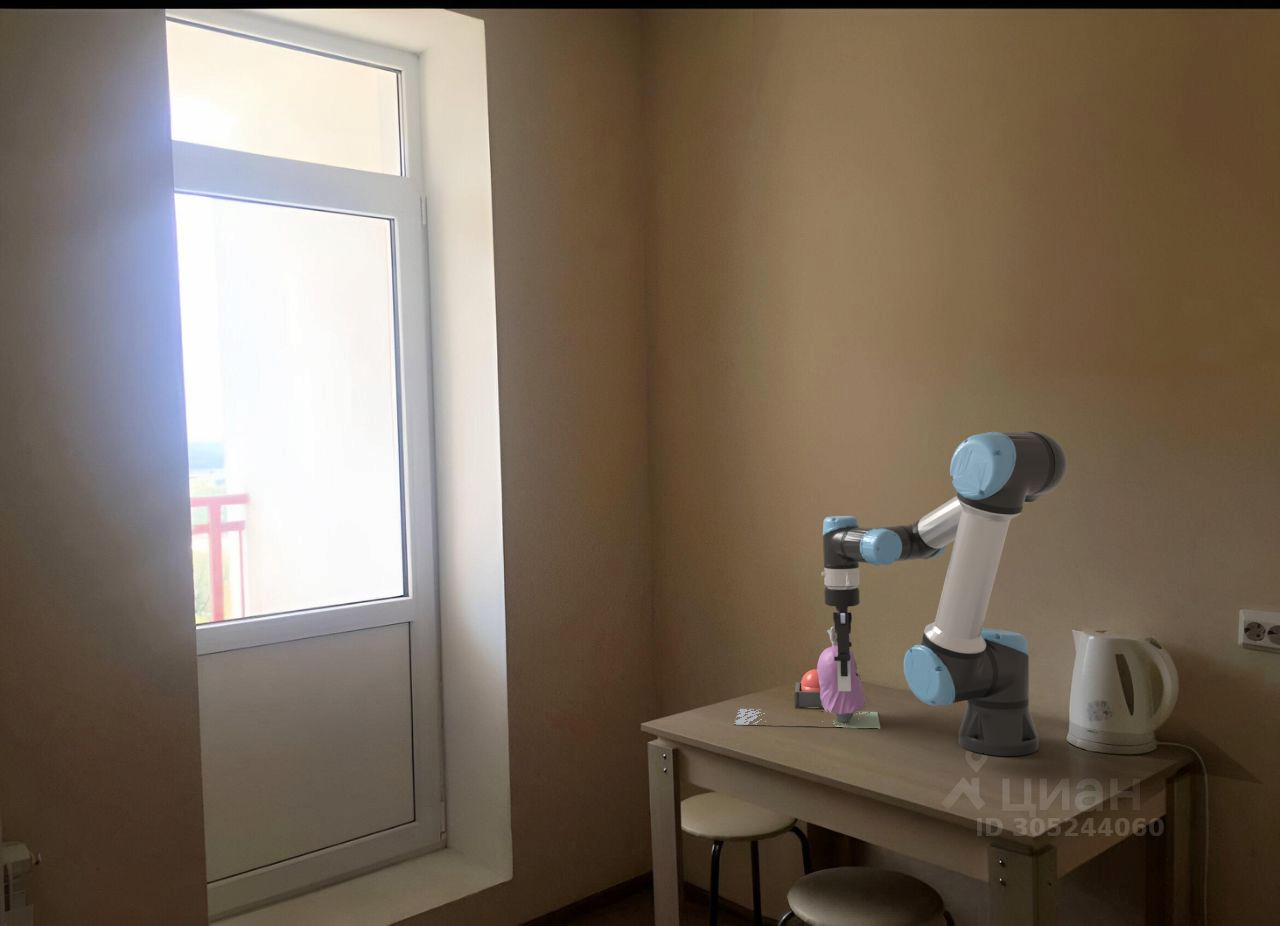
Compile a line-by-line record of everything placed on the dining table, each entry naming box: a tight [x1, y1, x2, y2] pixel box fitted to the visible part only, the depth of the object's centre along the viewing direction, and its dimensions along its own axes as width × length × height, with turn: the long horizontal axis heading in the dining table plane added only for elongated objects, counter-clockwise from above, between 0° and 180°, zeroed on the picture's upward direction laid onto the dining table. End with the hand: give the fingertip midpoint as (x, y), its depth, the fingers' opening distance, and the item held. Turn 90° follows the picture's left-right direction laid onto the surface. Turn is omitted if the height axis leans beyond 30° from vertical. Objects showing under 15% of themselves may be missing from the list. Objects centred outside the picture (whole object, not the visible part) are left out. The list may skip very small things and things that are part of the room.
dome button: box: [800, 668, 820, 692], centre depth 246 cm, size 7×7×7 cm
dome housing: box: [794, 681, 823, 708], centre depth 246 cm, size 10×10×4 cm
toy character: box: [816, 625, 868, 723], centre depth 231 cm, size 12×10×20 cm
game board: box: [733, 708, 881, 730], centre depth 233 cm, size 13×31×1 cm, turn 80°
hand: (843, 683), depth 231 cm, fingers open, 13 cm apart
